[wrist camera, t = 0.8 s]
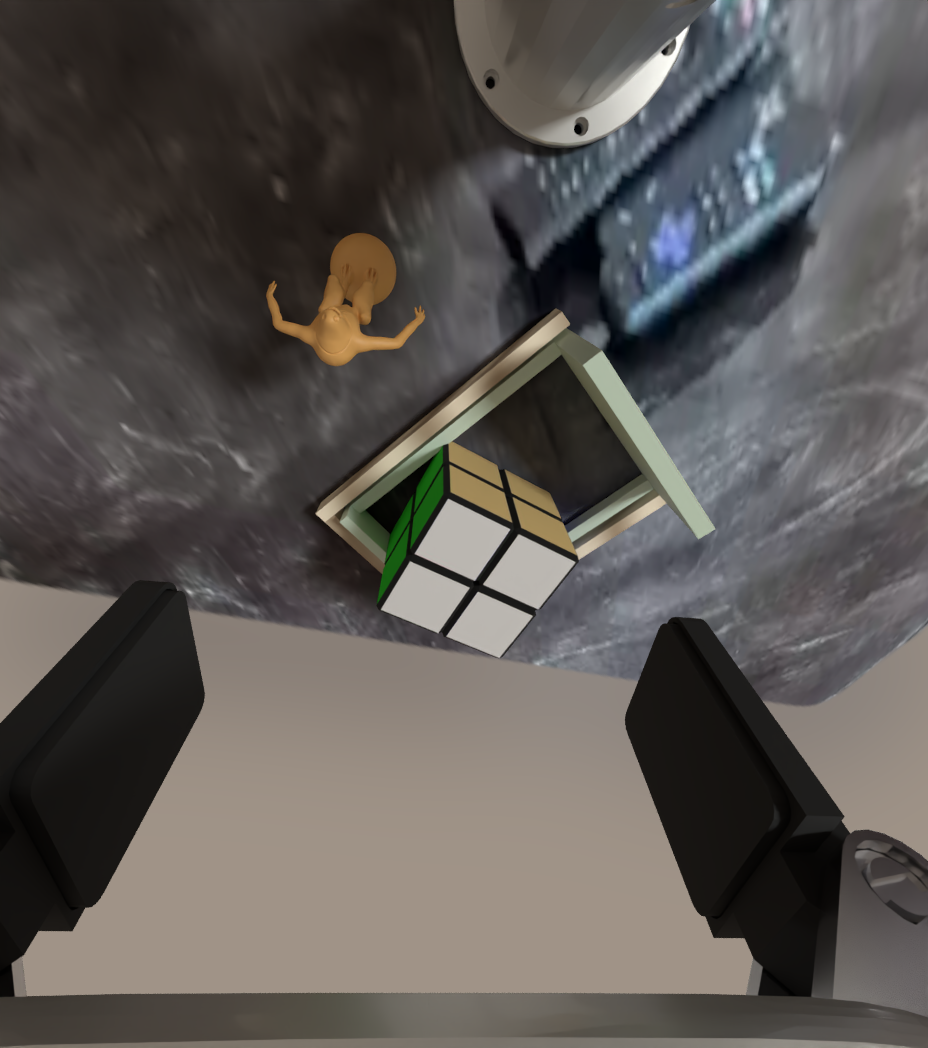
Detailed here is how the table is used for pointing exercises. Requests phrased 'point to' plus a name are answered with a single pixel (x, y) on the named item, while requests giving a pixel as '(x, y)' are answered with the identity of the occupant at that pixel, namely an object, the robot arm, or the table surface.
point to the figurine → (364, 281)
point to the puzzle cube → (474, 553)
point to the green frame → (612, 406)
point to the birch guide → (447, 411)
